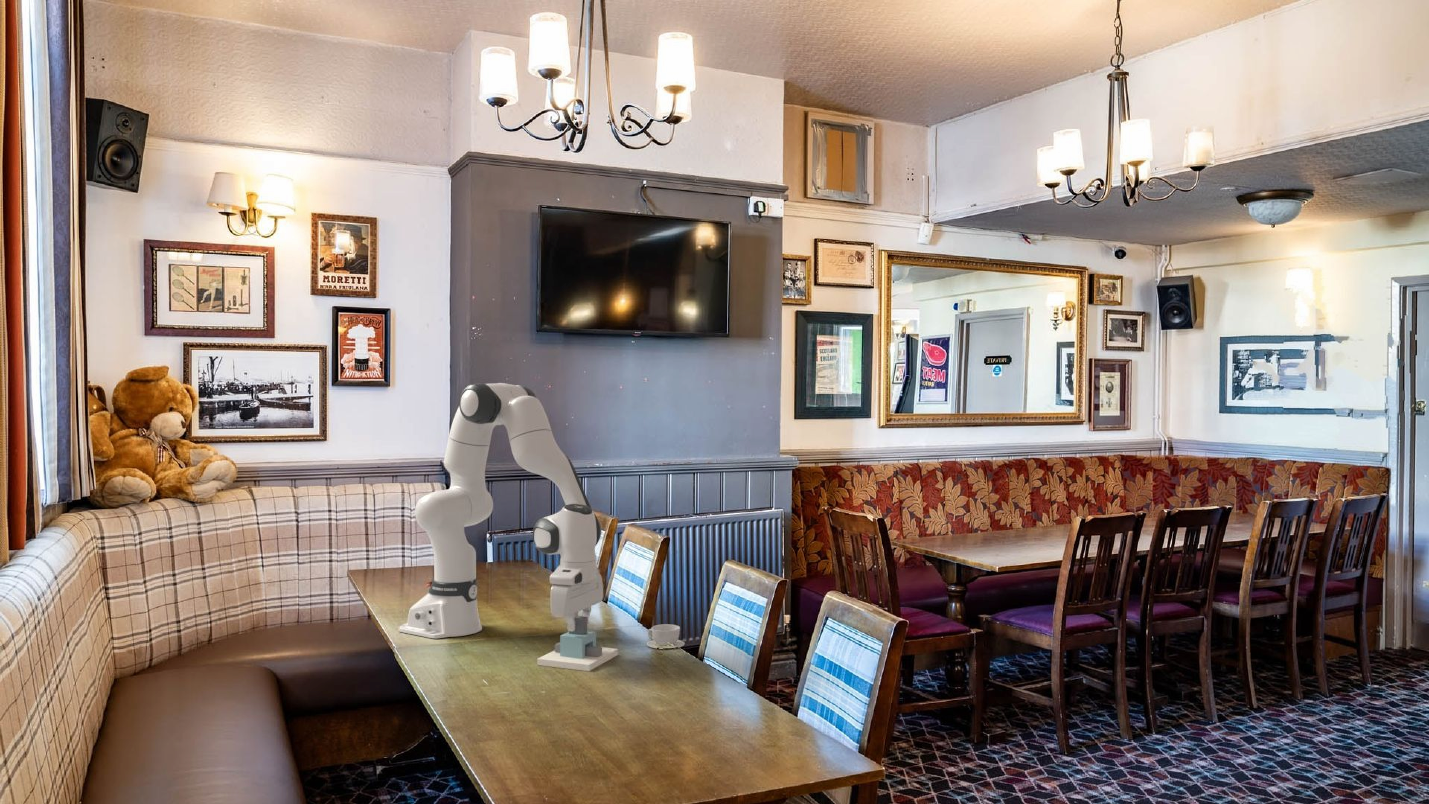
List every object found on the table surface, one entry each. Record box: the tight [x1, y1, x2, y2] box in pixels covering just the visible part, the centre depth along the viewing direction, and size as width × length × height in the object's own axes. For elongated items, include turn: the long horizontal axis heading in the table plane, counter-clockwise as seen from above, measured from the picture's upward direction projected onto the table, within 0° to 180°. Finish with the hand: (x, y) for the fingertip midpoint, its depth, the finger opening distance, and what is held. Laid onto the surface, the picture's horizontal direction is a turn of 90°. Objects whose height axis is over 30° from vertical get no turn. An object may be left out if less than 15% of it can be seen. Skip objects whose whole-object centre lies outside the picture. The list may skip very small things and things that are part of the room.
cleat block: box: [559, 615, 597, 659], centre depth 239 cm, size 6×7×9 cm
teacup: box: [646, 623, 686, 650], centre depth 253 cm, size 10×10×5 cm
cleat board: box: [536, 641, 619, 672], centre depth 239 cm, size 14×15×4 cm
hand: (578, 627), depth 239 cm, fingers open, 5 cm apart
